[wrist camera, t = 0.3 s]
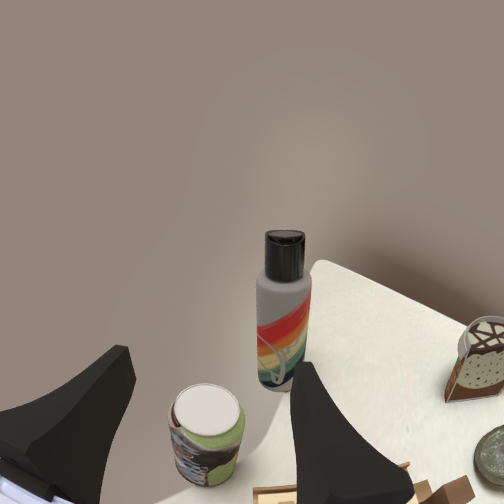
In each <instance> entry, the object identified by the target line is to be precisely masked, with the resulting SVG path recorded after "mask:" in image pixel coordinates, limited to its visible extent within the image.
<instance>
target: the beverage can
mask: <svg viewBox="0 0 504 504" xmlns="http://www.w3.org/2000/svg"><path fill="white" fill-rule="evenodd" d="M168 422H169V428H170V434H171V441H172V447H173V452H174V457H175V463H176V467H177V469H178V471H179V473H180V474H181V475H182V476H183V477H184V478H185V479H186V480H188V481H189V482H191V483H193V484H196V485H200V486H214V485H218V484H220V483H222V482H224V481H225V480H227V479H228V478H229V477H230V476H231V474H232V473H233V471H234V468H235V464H236V459H237V456H238V451H239V448H240V444H241V440H242V435H243V431H244V426H245V415H244V411H243V409H242V407H241V406H240V404H239V403H238V401H237V400H236V398H235V397H234V395H233V394H231V393H230V392H229V391H228V390H226V389H225V388H223V387H220V386H217V385H213V384H197V385H193V386H190V387H188V388H186V389H185V390H183V391H182V392H181V393H180V394H179V395H178V397H177V398H176V399H175V400H174V401H173V403H172V405H171V406H170V409H169V413H168Z"/></svg>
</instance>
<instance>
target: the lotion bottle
mask: <svg viewBox="0 0 504 504" xmlns="http://www.w3.org/2000/svg"><path fill="white" fill-rule="evenodd" d="M304 256H305V233H304V232H302V231H297V230H272V231H267V232H266V233H265V268H263V269H262V270H261V271H260V272H259V273H258V274H257V278H256V303H257V304H256V308H257V355H258V356H257V360H258V378H259V381H260V383H261V384H262V385H263V386H264V387H265V388H267V389H269V390H271V391H274V392H286V391H289V390H291V387H292V382H293V376H294V370H295V364H296V362H304V357H305V349H306V340H307V330H308V320H309V310H310V299H311V287H312V278H311V275H310V274H309V272H308V271H306V270H305V269H304Z"/></svg>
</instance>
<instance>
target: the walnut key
mask: <svg viewBox="0 0 504 504" xmlns="http://www.w3.org/2000/svg"><path fill="white" fill-rule="evenodd" d="M473 498H475V494H474V492H473V489H472V487H471V484H470V482H469V480H468V477H467V475H465V476H463V477H460V478H458V479H456V480H454V481H452V482H449V483H447V484H444V485H443V486H441V487H440V488H439V489H438V490H437V491H436V492H434V493H433V494H432V495H431V496H430V497H428V498H427V499H426V500H425V501H423V502H422V503H421V504H466V503H468V502H469V501H471V500H472V499H473Z"/></svg>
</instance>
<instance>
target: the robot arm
mask: <svg viewBox="0 0 504 504" xmlns="http://www.w3.org/2000/svg"><path fill="white" fill-rule="evenodd" d="M135 382H136V376H135V372H134V369H133V365H132V361H131V357H130V353H129V349H128V347H126V346H120V345H115V346H114V347H112V348H111V349H110V350H108V351H107V352H106V353H105V354H104V355H102V356H101V357H100V358H99V359H98V360H96V361H95V362H94V363H93V364H91V365H90V366H89V367H88V368H86V369H85V370H84V371H82V372H81V373H80V374H78V375H77V376H76V377H74V378H73V379H71V380H70V381H69V382H68V383H66V384H64V385H63V386H61V387H59V388H58V389H56V390H54V391H52V392H51V393H49V394H47V395H45V396H43V397H41V398H38V399H37V400H34V401H32V402H30V403H27V404H24V405H22V406H19V407H16V408H12V409H9V410H5V411H1V412H0V457H1V458H0V504H99V502H100V493H101V487H102V480H103V476H104V471H105V467H106V462H107V458H108V454H109V450H110V447H111V444H112V441H113V438H114V435H115V433H116V431H117V429H118V426H119V424H120V422H121V420H122V417H123V415H124V413H125V411H126V408H127V406H128V404H129V401H130V399H131V396H132V393H133V389H134V386H135ZM290 414H291V423H292V430H293V438H294V446H295V453H296V464H297V502H296V504H407V503H408V502H409V501H410V500H411V499H412V498H413V496H414V495H415V490H414V486H413V483H412V480H411V478H410V476H409V474H408V472H407V471H405V470H404V469H402V468H401V467H399V466H398V465H396V464H394V463H393V462H391V461H390V460H388V459H387V458H386V457H385V456H383V455H382V454H381V453H379V452H378V451H377V450H376V449H375V448H374V447H373V446H371V445H370V444H369V443H368V442H367V441H366V440H365V439H364V438H363V437H362V436H361V435H360V434H359V433H358V432H357V431H356V430H355V429H354V428H353V426H352V425H351V424H350V423H349V422H348V421H347V419H346V418H345V417H344V416H343V414H342V413H341V411H340V410H339V409H338V407H337V406H336V404H335V403H334V402H333V400H332V398H331V397H330V395H329V394H328V392H327V390H326V389H325V387H324V385H323V384H322V382H321V380H320V378H319V376H318V374H317V372H316V370H315V368H314V366H313V364H312V363H311V362H296V364H295V370H294V376H293V382H292V387H291V393H290Z"/></svg>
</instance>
